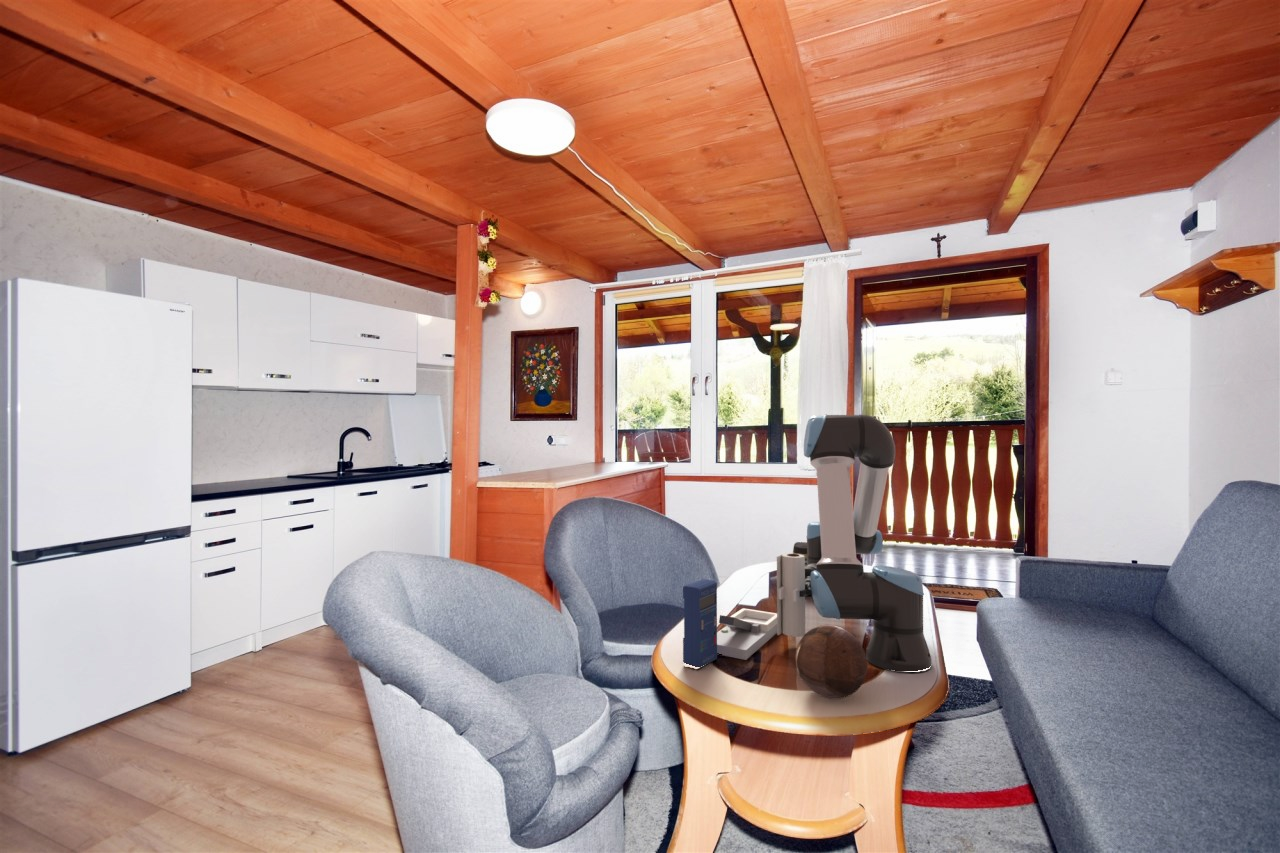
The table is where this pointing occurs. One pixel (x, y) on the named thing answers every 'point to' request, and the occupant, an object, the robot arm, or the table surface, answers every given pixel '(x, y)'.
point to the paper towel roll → (791, 595)
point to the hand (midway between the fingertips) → (787, 595)
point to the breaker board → (747, 634)
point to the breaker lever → (735, 623)
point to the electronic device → (700, 622)
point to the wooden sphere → (831, 661)
